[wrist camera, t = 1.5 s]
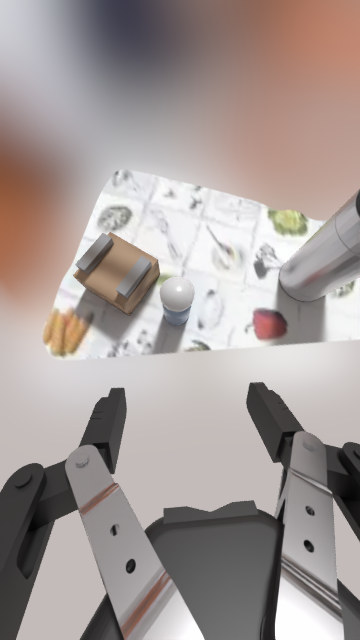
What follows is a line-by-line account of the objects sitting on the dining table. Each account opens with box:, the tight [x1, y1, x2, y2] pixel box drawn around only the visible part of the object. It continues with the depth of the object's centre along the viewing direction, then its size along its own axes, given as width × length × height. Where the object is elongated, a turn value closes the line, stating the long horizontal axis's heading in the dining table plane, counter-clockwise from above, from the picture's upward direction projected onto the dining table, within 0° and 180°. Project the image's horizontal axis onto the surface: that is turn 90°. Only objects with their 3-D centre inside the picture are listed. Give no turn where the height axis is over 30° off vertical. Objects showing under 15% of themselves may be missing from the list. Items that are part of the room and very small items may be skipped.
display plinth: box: [73, 232, 160, 316], centre depth 35 cm, size 10×10×6 cm
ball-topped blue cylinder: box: [160, 277, 195, 325], centre depth 32 cm, size 5×5×10 cm
